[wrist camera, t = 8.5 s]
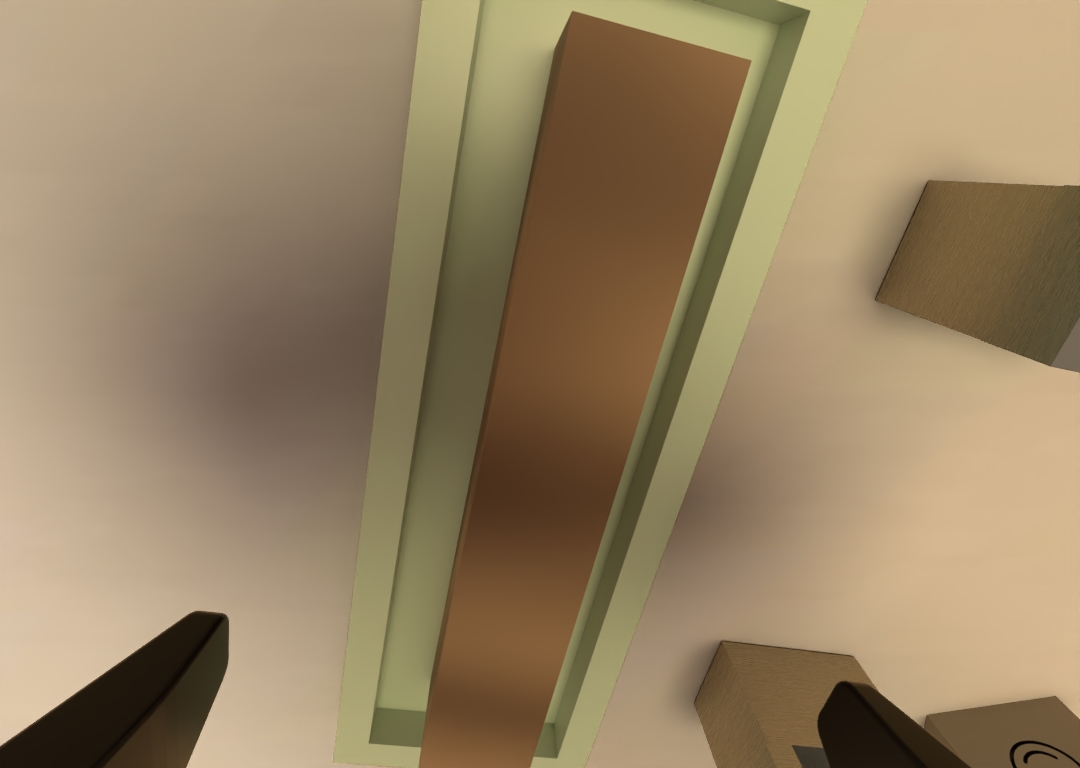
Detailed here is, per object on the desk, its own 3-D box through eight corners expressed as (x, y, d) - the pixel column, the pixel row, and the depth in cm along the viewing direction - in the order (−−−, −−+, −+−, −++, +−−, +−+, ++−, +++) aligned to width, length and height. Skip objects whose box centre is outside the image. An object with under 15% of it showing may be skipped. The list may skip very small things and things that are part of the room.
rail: (521, 687, 18) (525, 782, 15) (430, 678, 18) (417, 775, 15) (692, 84, 12) (751, 60, 9) (554, 48, 11) (571, 10, 8)
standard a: (822, 715, 20) (917, 879, 16) (691, 702, 20) (750, 870, 15) (856, 656, 19) (968, 814, 15) (719, 641, 18) (791, 801, 14)
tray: (573, 731, 20) (579, 780, 18) (347, 711, 19) (333, 762, 17) (829, -11, 12) (882, -39, 10) (451, -127, 10) (443, -178, 9)
